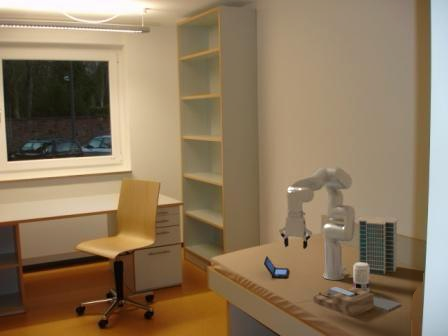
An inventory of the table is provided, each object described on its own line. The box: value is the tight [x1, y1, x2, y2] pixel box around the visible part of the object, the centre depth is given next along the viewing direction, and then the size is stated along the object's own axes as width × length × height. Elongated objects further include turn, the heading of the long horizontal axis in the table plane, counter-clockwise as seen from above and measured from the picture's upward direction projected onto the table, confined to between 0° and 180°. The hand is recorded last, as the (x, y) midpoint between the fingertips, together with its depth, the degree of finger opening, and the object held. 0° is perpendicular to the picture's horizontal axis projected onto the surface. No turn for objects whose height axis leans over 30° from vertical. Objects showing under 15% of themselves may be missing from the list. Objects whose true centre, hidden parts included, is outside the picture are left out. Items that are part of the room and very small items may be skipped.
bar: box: [329, 286, 355, 297], centre depth 238 cm, size 12×4×4 cm, turn 37°
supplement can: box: [352, 261, 371, 293], centre depth 254 cm, size 8×8×15 cm
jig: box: [313, 287, 375, 318], centre depth 238 cm, size 24×16×7 cm, turn 37°
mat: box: [374, 294, 402, 312], centre depth 239 cm, size 11×18×1 cm, turn 37°
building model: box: [358, 216, 398, 275], centre depth 287 cm, size 20×16×30 cm
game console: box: [263, 256, 290, 279], centre depth 287 cm, size 16×14×9 cm
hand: (295, 247), depth 243 cm, fingers open, 9 cm apart
